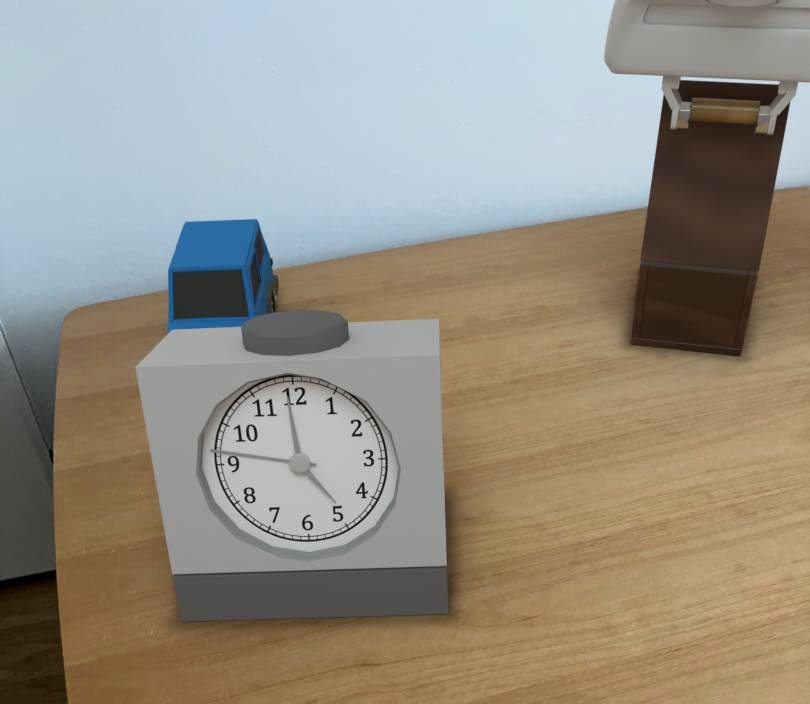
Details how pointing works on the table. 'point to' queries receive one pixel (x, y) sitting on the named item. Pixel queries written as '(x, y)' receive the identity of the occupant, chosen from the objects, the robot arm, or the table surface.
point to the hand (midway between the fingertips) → (720, 129)
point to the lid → (714, 178)
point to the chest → (692, 307)
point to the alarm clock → (300, 466)
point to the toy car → (220, 275)
